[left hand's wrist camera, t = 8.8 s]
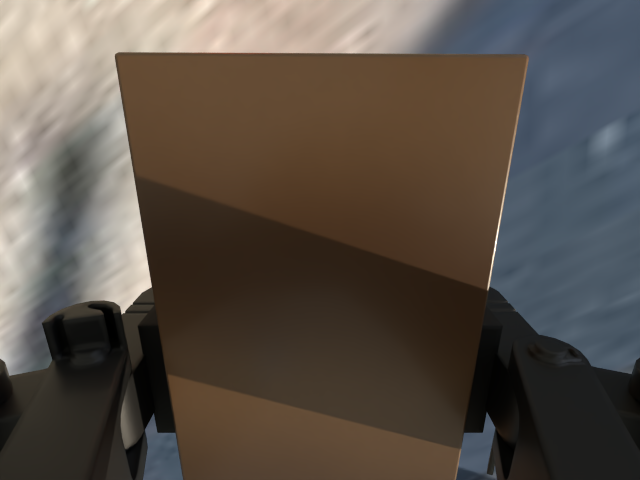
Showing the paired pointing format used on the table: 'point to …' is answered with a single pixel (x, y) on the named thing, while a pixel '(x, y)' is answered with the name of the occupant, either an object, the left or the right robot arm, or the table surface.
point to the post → (320, 251)
